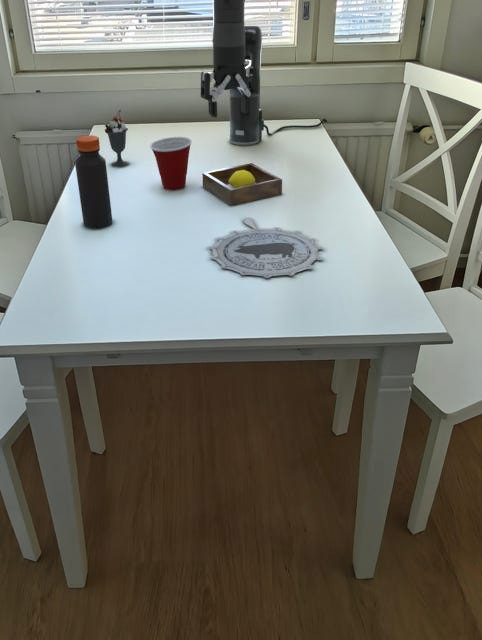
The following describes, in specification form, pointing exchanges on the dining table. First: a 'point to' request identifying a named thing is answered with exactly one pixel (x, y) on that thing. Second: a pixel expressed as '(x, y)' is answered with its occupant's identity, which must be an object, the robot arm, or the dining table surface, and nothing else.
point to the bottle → (93, 183)
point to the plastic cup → (172, 160)
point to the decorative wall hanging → (265, 252)
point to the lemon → (241, 179)
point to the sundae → (117, 139)
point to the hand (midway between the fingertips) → (229, 114)
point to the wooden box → (233, 196)
